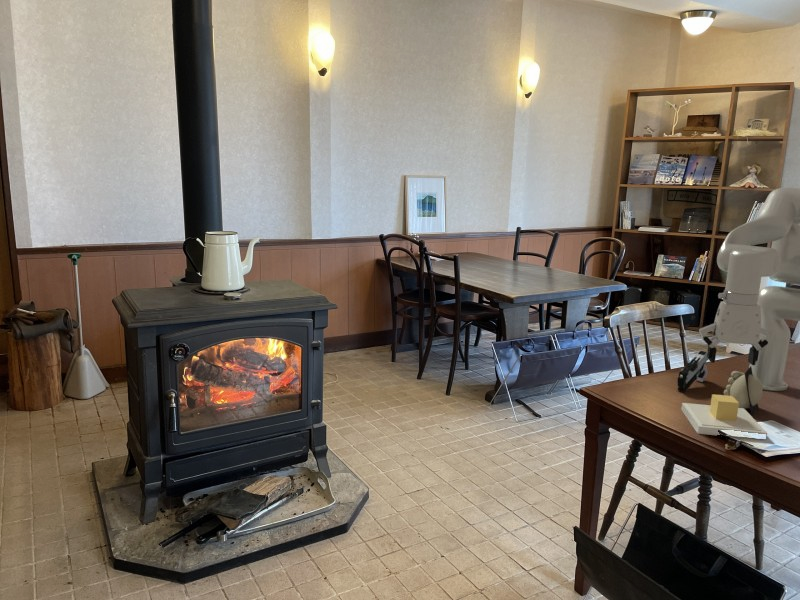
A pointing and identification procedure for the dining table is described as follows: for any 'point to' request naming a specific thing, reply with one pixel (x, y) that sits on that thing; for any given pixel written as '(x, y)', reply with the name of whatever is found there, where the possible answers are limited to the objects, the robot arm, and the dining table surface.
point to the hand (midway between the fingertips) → (731, 362)
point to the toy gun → (693, 371)
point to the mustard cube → (724, 407)
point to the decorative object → (745, 389)
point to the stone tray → (710, 425)
